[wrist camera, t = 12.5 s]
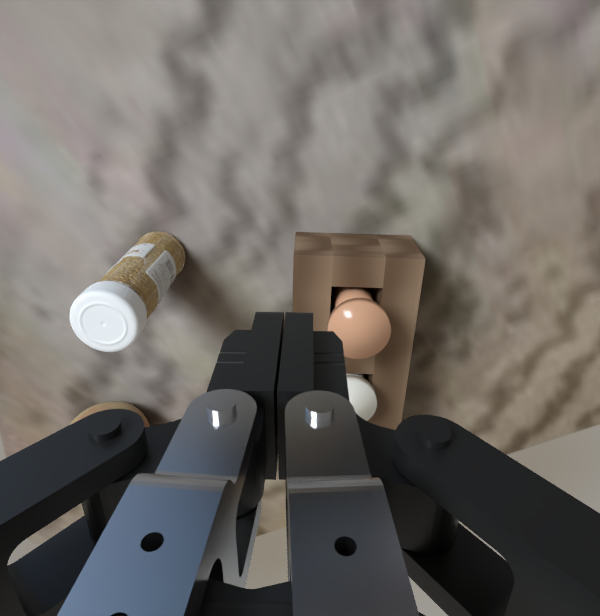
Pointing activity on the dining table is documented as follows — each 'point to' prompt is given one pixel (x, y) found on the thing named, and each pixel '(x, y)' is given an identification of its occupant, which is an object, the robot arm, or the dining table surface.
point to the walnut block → (385, 291)
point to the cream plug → (361, 395)
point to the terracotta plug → (359, 322)
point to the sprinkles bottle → (127, 293)
